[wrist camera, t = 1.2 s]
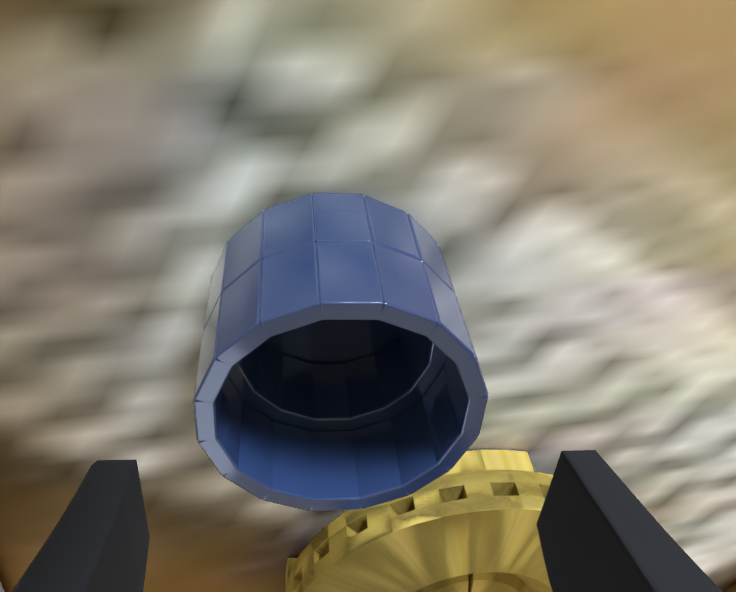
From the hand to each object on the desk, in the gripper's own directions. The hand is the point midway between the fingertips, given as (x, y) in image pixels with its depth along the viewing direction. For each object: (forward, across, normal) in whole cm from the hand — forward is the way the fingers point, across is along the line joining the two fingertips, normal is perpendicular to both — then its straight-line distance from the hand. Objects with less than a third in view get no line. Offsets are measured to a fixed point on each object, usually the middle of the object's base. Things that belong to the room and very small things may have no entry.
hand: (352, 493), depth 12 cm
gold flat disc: (+6, -5, +12) cm, 15 cm away
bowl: (+6, 0, 0) cm, 6 cm away
